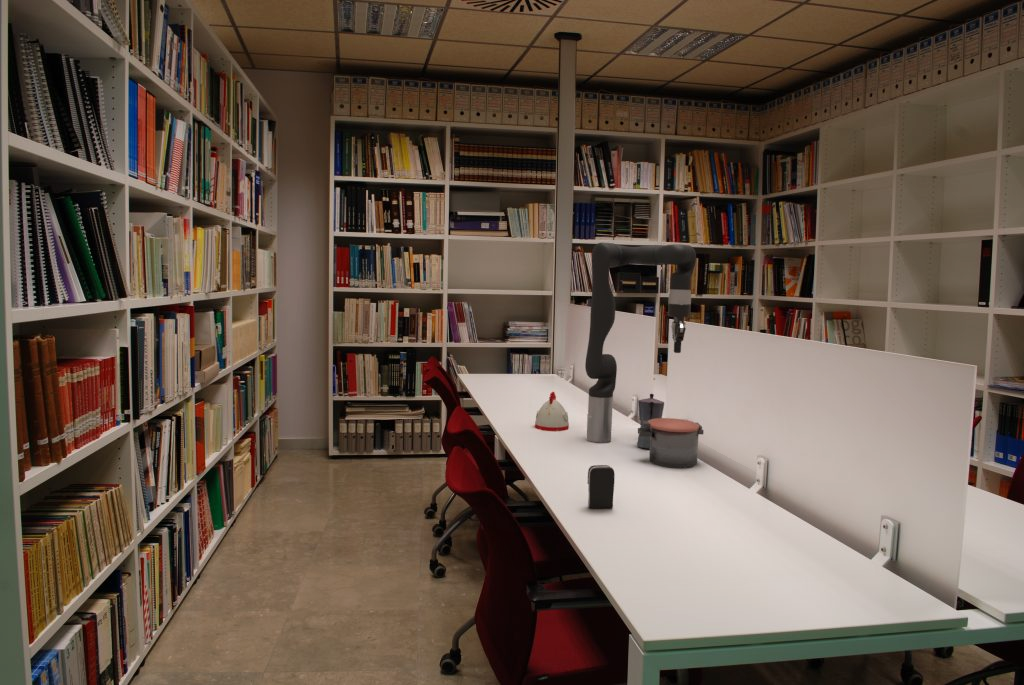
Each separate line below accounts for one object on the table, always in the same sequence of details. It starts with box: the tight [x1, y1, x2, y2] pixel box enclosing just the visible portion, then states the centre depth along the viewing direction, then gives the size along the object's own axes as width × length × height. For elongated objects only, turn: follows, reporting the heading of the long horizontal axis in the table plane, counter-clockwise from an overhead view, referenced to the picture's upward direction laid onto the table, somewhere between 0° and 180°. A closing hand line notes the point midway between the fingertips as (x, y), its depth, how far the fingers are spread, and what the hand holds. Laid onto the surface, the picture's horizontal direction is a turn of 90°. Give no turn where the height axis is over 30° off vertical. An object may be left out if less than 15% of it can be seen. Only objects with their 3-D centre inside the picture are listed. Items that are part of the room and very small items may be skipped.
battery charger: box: [587, 464, 616, 509], centre depth 190 cm, size 7×4×11 cm, turn 98°
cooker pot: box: [637, 427, 704, 469], centre depth 239 cm, size 21×16×12 cm
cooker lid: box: [642, 417, 703, 432], centre depth 238 cm, size 20×17×1 cm
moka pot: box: [636, 393, 665, 450], centre depth 259 cm, size 10×15×20 cm, turn 174°
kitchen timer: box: [534, 391, 570, 432], centre depth 289 cm, size 14×14×15 cm
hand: (677, 352), depth 243 cm, fingers closed
